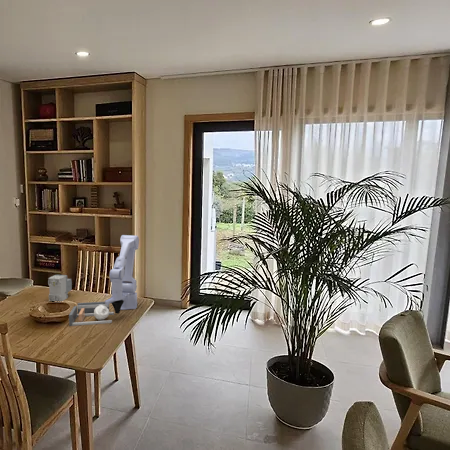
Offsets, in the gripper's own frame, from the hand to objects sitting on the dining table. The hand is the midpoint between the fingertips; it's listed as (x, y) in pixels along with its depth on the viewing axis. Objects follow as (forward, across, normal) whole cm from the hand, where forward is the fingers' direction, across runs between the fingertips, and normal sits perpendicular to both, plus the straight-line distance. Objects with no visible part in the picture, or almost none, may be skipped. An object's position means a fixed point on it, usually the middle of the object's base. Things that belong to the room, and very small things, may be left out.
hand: (117, 313), depth 177 cm
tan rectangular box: (+3, +14, -13) cm, 19 cm away
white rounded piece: (+3, +6, -6) cm, 9 cm away
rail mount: (+3, +8, -11) cm, 14 cm away
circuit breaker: (+3, +2, -53) cm, 53 cm away
